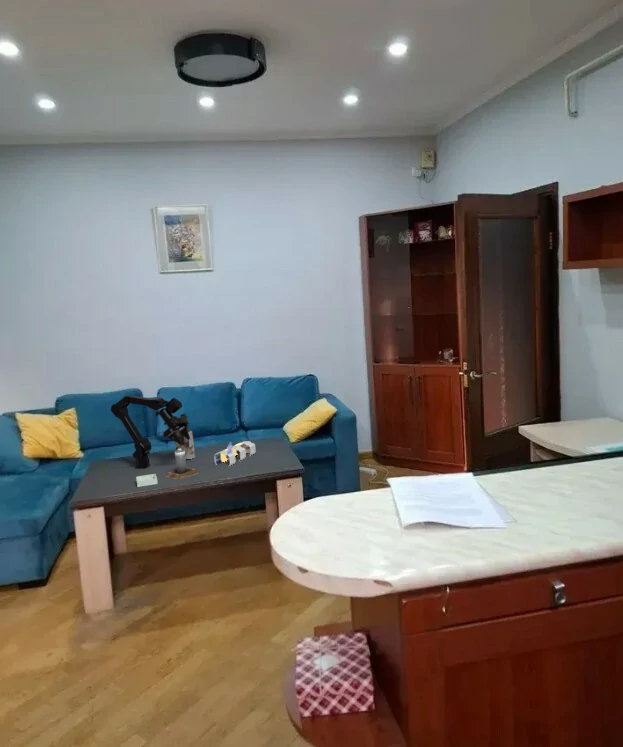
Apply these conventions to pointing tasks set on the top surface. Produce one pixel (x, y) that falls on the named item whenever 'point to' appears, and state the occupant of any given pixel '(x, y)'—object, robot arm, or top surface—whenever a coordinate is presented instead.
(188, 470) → the brown wooden tray
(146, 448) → the robot arm
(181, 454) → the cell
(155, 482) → the white square tray
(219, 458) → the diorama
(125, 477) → the top surface
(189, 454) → the coffee box
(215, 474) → the top surface
